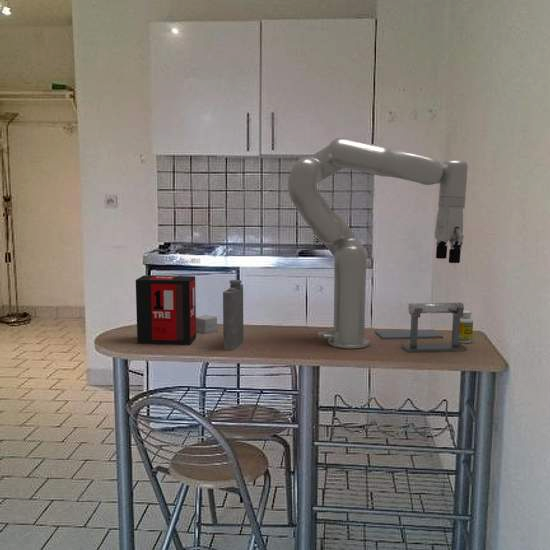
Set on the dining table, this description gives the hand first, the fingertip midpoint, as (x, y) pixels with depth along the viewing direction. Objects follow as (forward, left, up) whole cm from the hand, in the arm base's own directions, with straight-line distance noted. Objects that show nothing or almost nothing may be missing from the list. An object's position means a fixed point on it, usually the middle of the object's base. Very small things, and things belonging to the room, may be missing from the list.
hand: (447, 260), depth 191 cm
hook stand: (-3, -2, -27) cm, 27 cm away
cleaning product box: (-84, +15, -27) cm, 89 cm away
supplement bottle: (+9, +6, -27) cm, 29 cm away
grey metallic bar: (-3, -2, -14) cm, 15 cm away
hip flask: (-63, +9, -27) cm, 69 cm away
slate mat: (-6, +15, -27) cm, 31 cm away
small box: (-72, +27, -27) cm, 82 cm away
